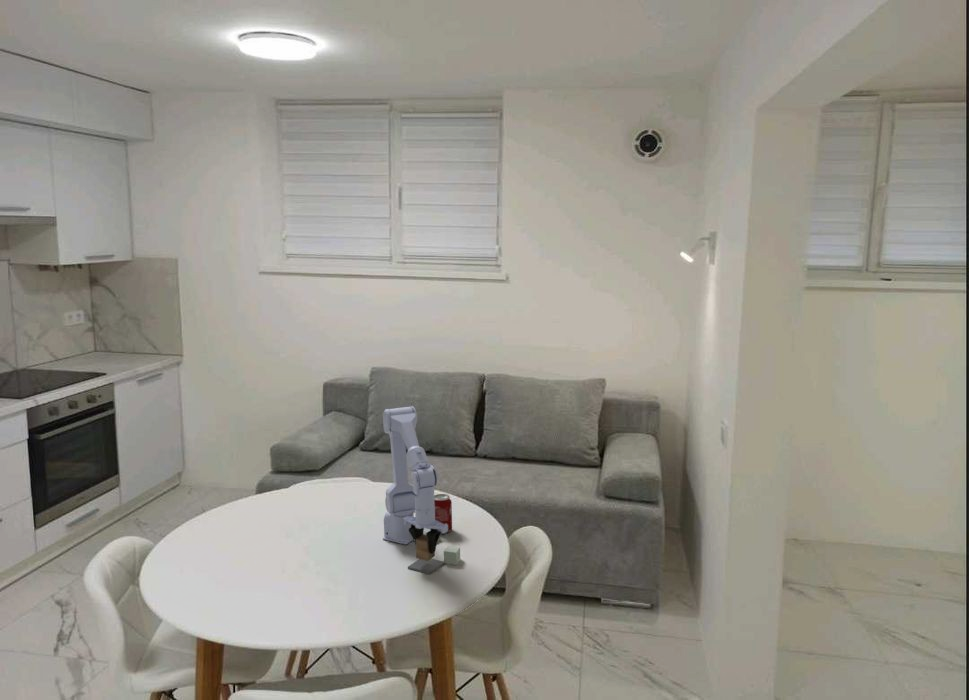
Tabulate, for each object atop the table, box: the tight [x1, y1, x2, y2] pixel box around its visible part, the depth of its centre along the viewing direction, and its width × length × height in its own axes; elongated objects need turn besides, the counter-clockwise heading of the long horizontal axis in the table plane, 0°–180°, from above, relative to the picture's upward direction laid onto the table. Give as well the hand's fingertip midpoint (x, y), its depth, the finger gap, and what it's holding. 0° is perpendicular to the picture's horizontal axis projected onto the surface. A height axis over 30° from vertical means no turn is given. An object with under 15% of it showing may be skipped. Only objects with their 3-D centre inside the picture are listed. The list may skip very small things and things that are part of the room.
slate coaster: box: [407, 557, 445, 575], centre depth 223 cm, size 8×8×1 cm
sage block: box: [443, 545, 461, 566], centre depth 226 cm, size 4×4×4 cm
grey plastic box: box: [423, 528, 441, 542], centre depth 242 cm, size 6×5×3 cm
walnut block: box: [415, 534, 436, 561], centre depth 222 cm, size 4×4×6 cm
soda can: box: [434, 493, 453, 535], centre depth 247 cm, size 7×7×12 cm
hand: (426, 550), depth 222 cm, fingers closed on walnut block, 4 cm apart
